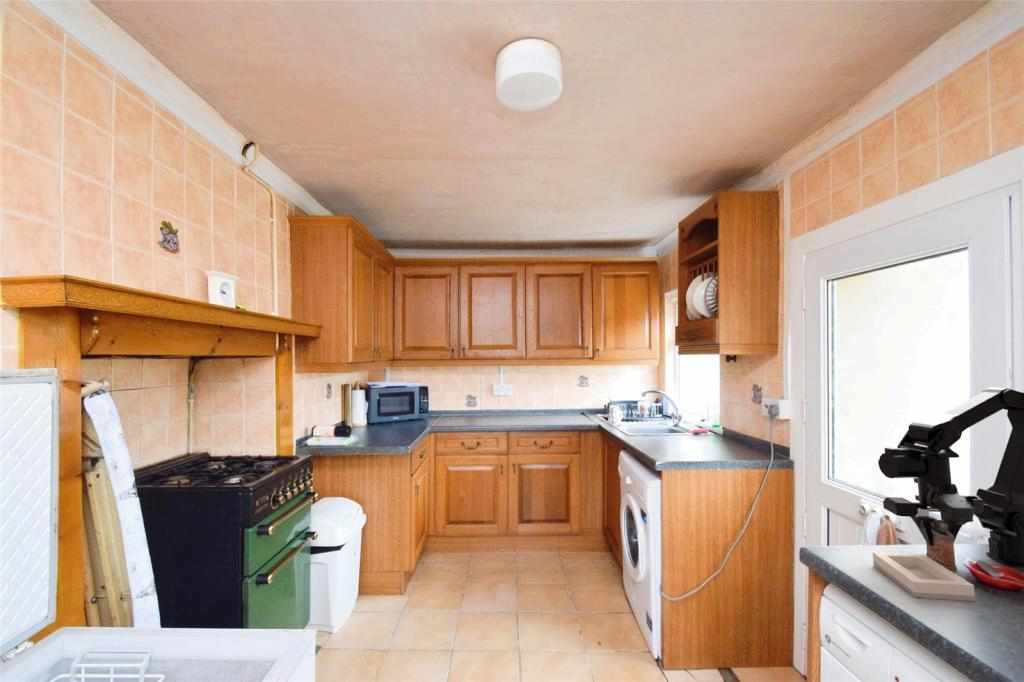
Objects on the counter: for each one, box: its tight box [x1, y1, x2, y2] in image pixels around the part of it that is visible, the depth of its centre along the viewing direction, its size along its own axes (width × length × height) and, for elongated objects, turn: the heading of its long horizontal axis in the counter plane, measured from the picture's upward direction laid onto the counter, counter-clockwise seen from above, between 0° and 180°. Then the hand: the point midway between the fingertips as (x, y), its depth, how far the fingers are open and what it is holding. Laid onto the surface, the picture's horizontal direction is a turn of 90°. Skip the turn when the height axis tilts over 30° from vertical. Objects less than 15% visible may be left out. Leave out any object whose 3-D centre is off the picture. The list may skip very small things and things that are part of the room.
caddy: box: [872, 551, 976, 602], centre depth 94 cm, size 10×14×3 cm
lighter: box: [925, 514, 958, 573], centre depth 102 cm, size 8×3×10 cm, turn 162°
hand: (939, 545), depth 102 cm, fingers closed on lighter, 3 cm apart
